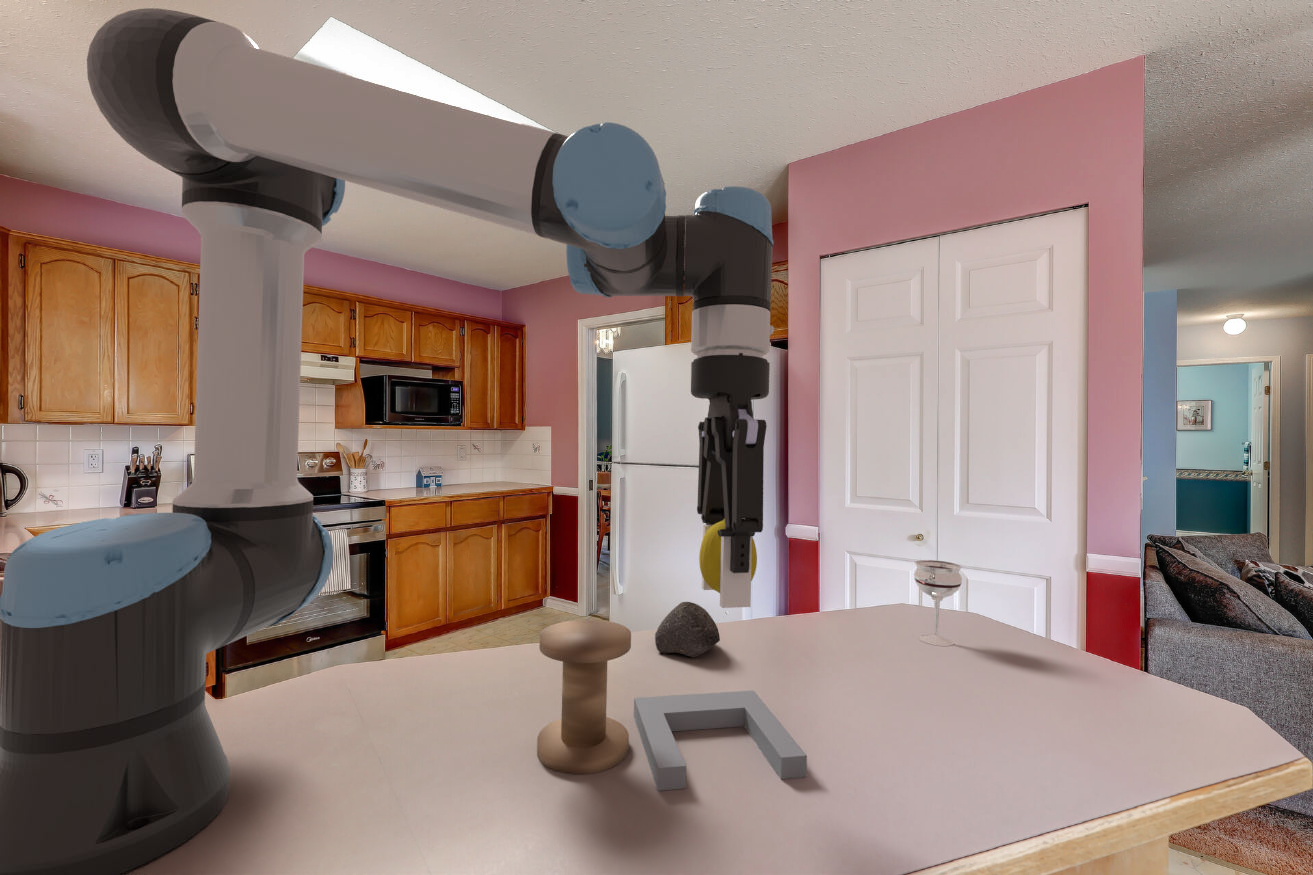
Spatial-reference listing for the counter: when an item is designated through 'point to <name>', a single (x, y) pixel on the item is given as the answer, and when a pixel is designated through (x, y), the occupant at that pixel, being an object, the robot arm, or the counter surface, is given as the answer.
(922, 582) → the wineglass
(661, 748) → the notch board
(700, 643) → the stone
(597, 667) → the bobbin
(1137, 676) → the counter surface
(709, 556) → the lemon
